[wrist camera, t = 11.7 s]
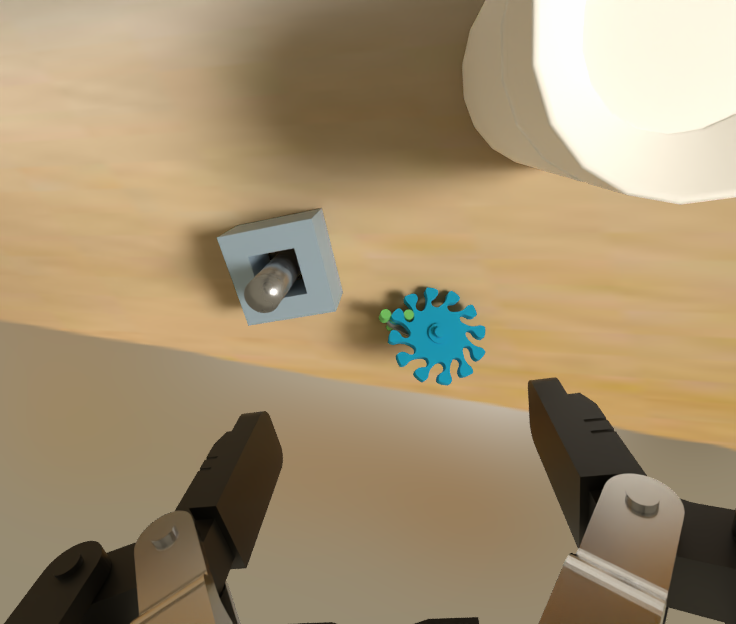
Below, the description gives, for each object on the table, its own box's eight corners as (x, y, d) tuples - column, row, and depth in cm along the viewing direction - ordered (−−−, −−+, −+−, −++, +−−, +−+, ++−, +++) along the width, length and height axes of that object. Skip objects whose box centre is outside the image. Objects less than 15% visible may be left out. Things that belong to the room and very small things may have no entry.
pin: (274, 249, 42) (239, 282, 33) (301, 243, 41) (273, 276, 32) (282, 276, 43) (250, 315, 34) (309, 271, 43) (284, 310, 33)
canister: (667, 133, 35) (958, 137, 17) (482, 190, 38) (556, 246, 20) (661, -100, 29) (1103, -487, 11) (441, -10, 32) (495, -193, 14)
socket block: (237, 225, 41) (216, 237, 37) (321, 208, 40) (311, 218, 35) (264, 305, 45) (248, 325, 40) (342, 292, 43) (335, 311, 39)
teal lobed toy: (501, 311, 41) (469, 401, 37) (479, 328, 47) (449, 408, 43) (403, 264, 41) (363, 349, 38) (393, 287, 47) (356, 363, 43)
